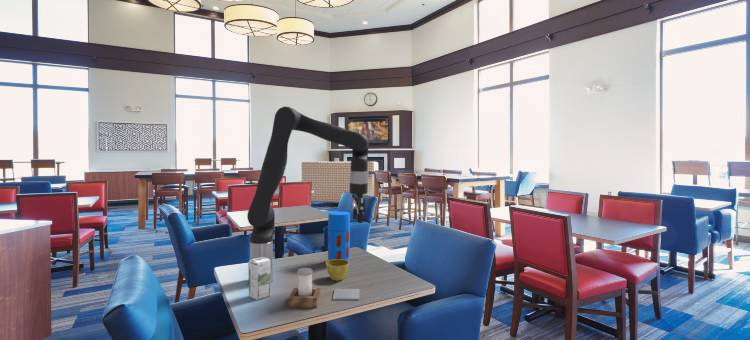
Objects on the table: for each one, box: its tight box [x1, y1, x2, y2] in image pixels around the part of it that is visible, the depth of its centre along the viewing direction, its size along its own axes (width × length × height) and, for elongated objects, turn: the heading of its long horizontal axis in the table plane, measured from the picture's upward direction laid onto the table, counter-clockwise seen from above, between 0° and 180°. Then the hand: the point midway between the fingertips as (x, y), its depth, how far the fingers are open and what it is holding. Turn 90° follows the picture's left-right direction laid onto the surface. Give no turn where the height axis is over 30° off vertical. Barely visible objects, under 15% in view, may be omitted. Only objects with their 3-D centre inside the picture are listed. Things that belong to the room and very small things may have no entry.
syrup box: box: [248, 257, 271, 301], centre depth 144 cm, size 6×6×14 cm
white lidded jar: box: [297, 267, 313, 296], centre depth 139 cm, size 5×5×12 cm
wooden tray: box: [288, 287, 321, 309], centre depth 139 cm, size 10×10×4 cm
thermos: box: [327, 211, 351, 263], centre depth 189 cm, size 11×11×25 cm
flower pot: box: [325, 259, 350, 281], centre depth 166 cm, size 10×10×7 cm
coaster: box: [332, 288, 361, 301], centre depth 147 cm, size 10×10×1 cm
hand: (357, 220), depth 158 cm, fingers open, 8 cm apart
